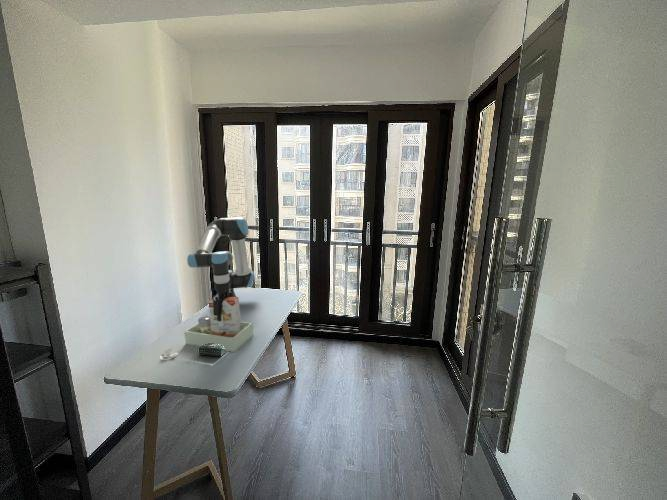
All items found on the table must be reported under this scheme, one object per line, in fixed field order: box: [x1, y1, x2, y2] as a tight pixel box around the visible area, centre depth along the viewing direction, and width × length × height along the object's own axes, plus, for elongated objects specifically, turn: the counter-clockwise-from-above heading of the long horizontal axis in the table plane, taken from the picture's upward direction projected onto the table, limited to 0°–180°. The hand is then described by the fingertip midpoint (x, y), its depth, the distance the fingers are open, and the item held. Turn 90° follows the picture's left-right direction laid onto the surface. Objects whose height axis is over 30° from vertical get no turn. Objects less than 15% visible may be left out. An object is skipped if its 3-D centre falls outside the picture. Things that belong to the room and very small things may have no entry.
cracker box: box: [208, 296, 242, 337], centre depth 146 cm, size 14×6×21 cm, turn 88°
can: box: [197, 315, 212, 335], centre depth 152 cm, size 7×7×11 cm
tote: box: [183, 321, 254, 353], centre depth 150 cm, size 18×30×8 cm, turn 74°
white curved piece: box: [159, 346, 179, 361], centre depth 136 cm, size 9×8×4 cm
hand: (225, 322), depth 147 cm, fingers closed on cracker box, 7 cm apart
